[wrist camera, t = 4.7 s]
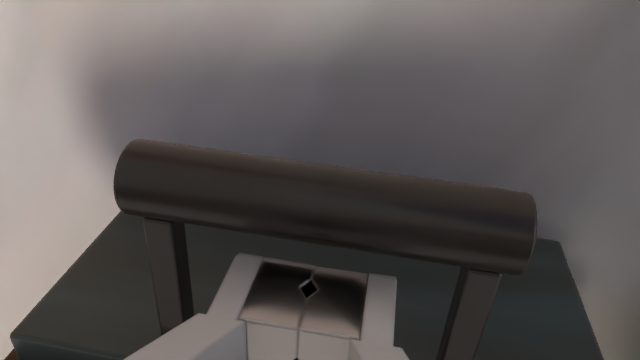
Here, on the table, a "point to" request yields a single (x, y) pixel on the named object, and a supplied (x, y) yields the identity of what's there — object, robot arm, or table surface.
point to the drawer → (312, 256)
